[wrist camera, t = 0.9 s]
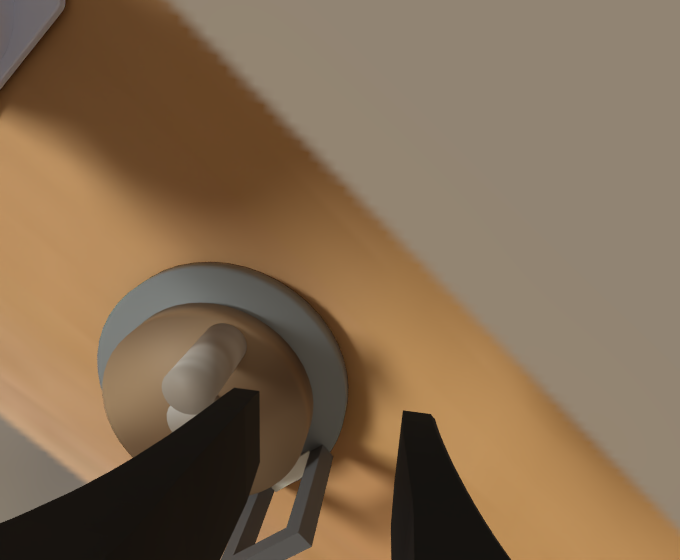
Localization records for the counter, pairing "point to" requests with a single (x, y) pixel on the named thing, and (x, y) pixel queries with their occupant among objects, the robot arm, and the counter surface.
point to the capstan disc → (208, 381)
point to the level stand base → (311, 348)
